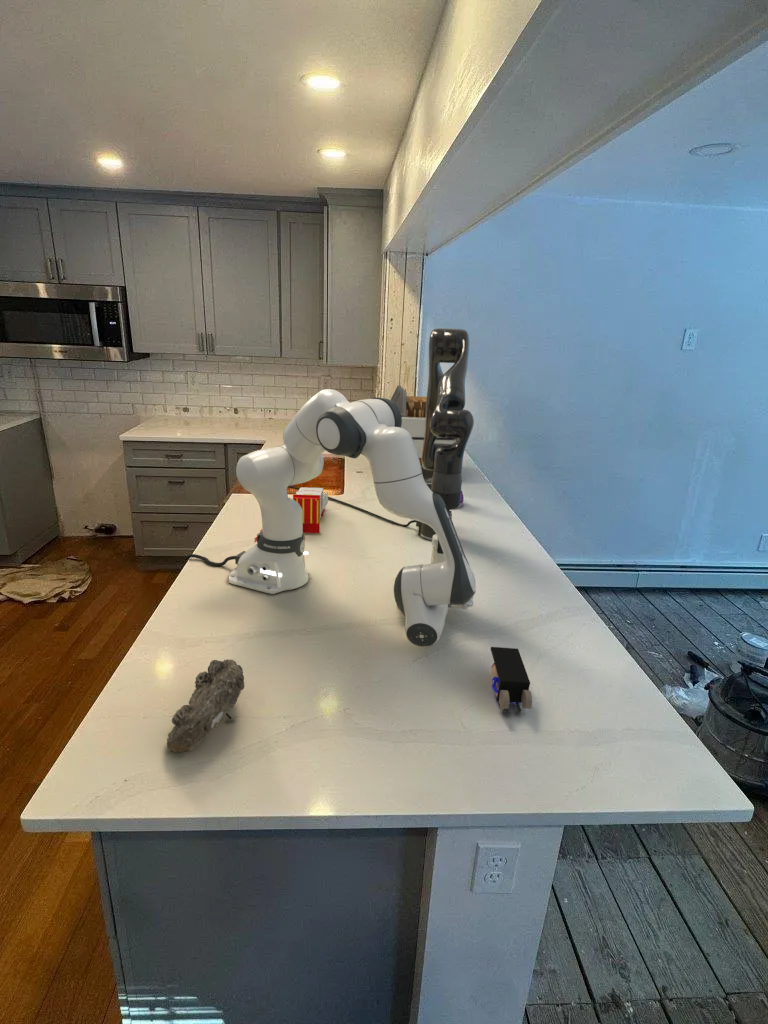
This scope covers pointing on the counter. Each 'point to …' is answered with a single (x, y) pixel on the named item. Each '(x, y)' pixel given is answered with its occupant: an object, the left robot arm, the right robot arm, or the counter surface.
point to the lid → (435, 541)
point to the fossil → (206, 705)
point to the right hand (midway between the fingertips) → (441, 548)
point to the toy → (311, 507)
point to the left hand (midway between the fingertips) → (437, 578)
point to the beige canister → (437, 556)
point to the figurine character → (510, 678)
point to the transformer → (414, 418)
